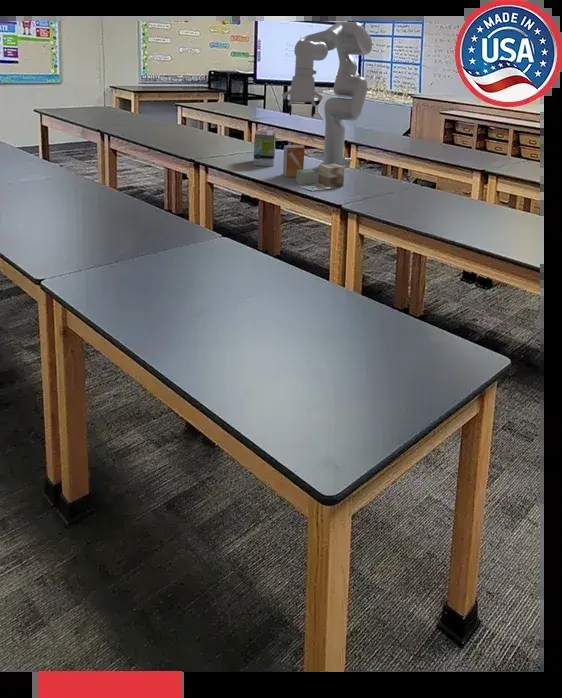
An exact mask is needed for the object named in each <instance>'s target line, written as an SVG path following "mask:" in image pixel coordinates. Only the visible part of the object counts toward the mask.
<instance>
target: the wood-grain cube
mask: <svg viewBox="0 0 562 698" xmlns="http://www.w3.org/2000/svg"><path fill="white" fill-rule="evenodd" d="M345 169H346V167H343V166H340V165H337V164H321V165H320V164H318V176H317V179H318V180H317V184H318V183H319V184H322V185H324V186H327V187H329V186H337V187H344V182H345V180H344V179H345ZM319 184H318V185H319Z"/></svg>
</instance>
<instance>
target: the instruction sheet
mask: <svg viewBox="0 0 562 698" xmlns="http://www.w3.org/2000/svg"><path fill="white" fill-rule="evenodd" d="M314 185H315V187H316V188H317V189H319V190H320V189H321V190H320V191H326V190H325V189H326V187H327V186H324V185H322V184H314ZM306 186H307V185H303V186H300V187H301V188H300V189H303V188H305V187H306ZM315 187H311V188H312V189H313V188H315Z"/></svg>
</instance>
